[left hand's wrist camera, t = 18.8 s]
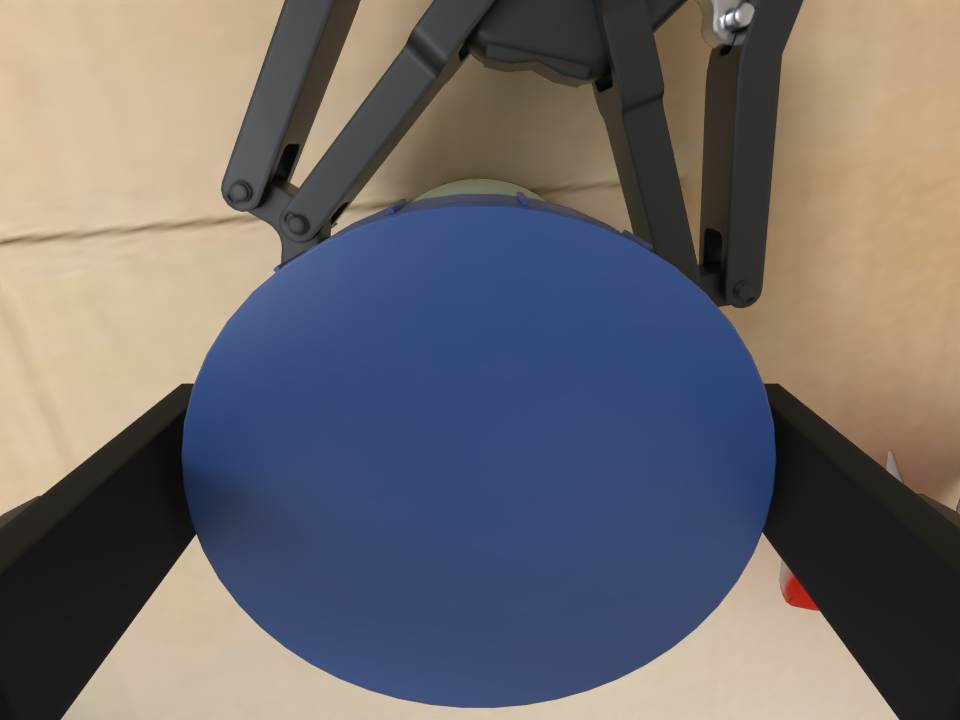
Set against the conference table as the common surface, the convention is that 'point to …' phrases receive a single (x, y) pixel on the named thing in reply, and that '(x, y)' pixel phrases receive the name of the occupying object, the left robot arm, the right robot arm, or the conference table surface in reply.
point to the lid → (478, 453)
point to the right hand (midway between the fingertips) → (459, 435)
